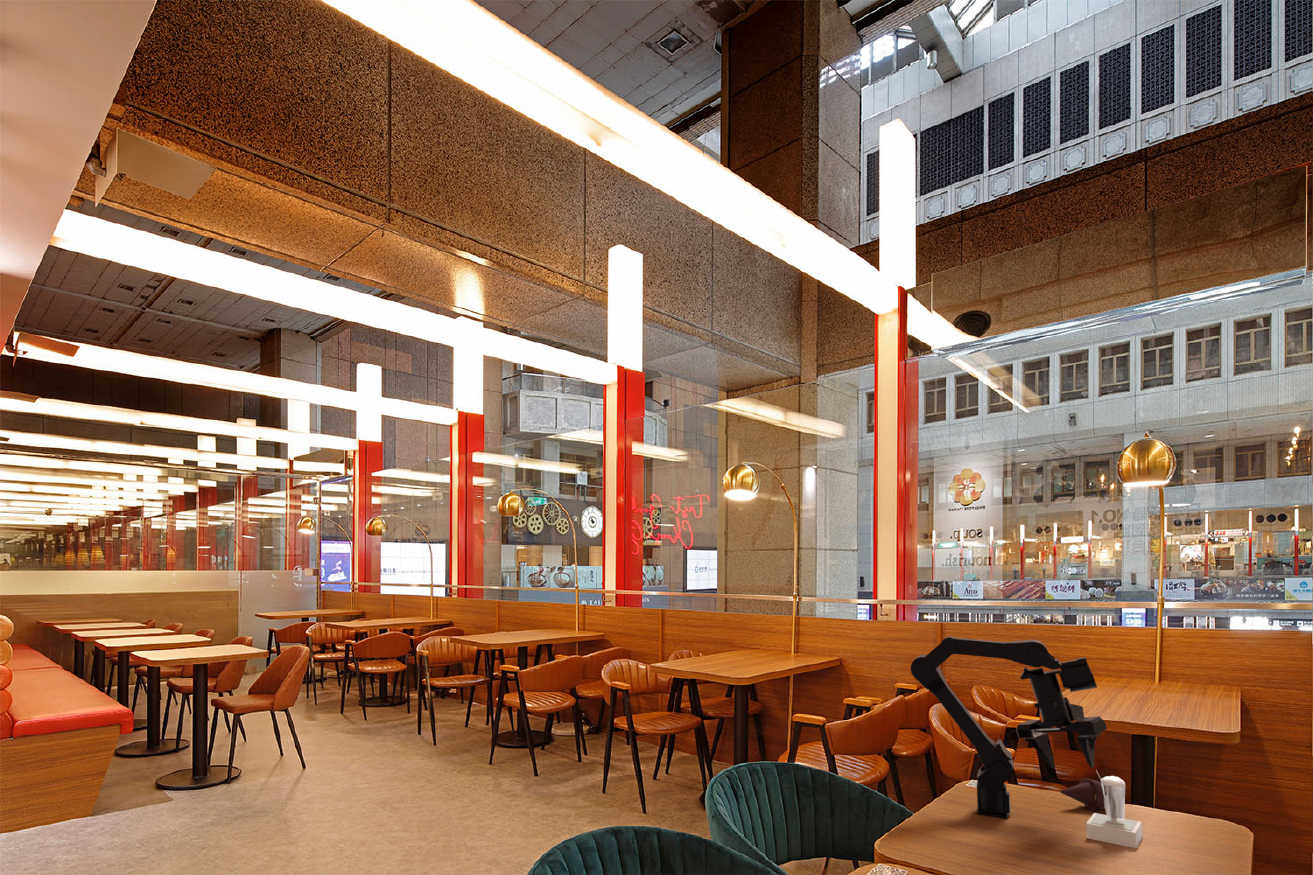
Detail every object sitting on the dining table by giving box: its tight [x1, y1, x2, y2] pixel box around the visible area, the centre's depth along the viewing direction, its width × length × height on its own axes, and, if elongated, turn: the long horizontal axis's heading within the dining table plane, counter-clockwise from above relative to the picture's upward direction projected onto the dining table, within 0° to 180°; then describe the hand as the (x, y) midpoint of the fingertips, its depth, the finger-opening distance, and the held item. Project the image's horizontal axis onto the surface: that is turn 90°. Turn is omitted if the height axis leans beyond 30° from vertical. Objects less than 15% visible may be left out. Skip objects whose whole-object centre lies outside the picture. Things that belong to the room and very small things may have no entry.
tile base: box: [1085, 812, 1143, 849], centre depth 167 cm, size 9×9×3 cm
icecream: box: [1060, 777, 1105, 811], centre depth 187 cm, size 7×7×15 cm
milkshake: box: [1095, 769, 1126, 824], centre depth 168 cm, size 4×5×10 cm
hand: (1072, 767), depth 176 cm, fingers open, 9 cm apart
